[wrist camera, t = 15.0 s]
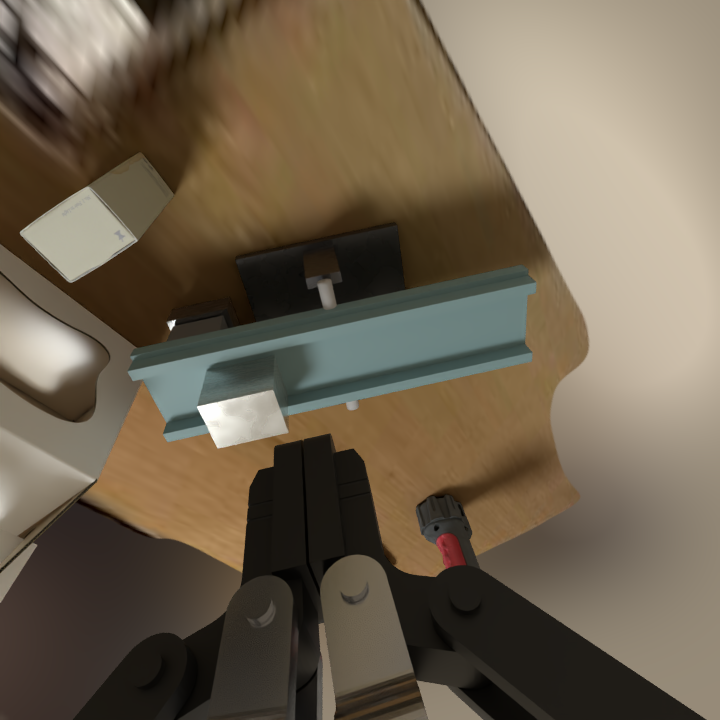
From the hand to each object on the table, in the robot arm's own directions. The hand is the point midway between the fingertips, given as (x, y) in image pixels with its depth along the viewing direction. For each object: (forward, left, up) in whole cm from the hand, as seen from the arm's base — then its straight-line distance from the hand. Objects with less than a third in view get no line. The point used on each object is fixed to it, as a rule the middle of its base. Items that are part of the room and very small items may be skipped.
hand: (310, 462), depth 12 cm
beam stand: (+13, -3, -35) cm, 37 cm away
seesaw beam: (+13, +1, -32) cm, 35 cm away
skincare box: (-2, -14, -35) cm, 38 cm away
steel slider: (+14, -8, -25) cm, 29 cm away
